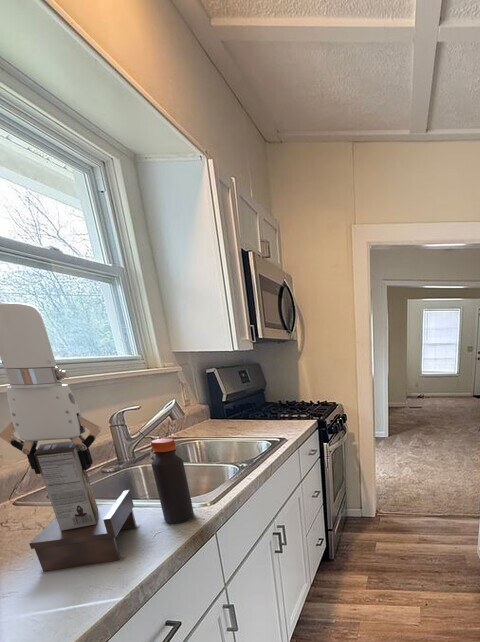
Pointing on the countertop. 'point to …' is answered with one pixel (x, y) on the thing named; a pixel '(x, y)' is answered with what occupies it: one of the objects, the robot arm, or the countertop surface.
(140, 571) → the countertop surface
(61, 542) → the shelf
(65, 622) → the countertop surface
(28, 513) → the countertop surface
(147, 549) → the countertop surface
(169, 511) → the bottle
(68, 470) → the coffee box
